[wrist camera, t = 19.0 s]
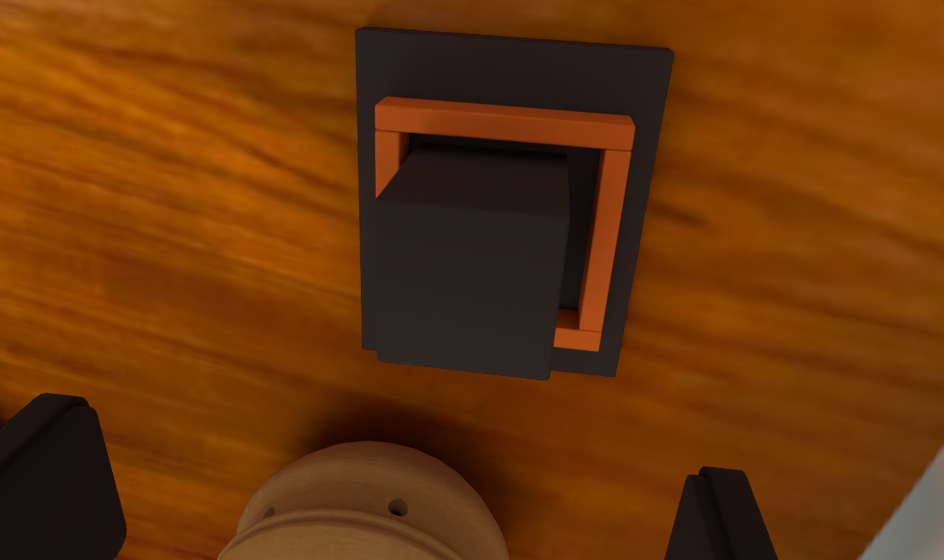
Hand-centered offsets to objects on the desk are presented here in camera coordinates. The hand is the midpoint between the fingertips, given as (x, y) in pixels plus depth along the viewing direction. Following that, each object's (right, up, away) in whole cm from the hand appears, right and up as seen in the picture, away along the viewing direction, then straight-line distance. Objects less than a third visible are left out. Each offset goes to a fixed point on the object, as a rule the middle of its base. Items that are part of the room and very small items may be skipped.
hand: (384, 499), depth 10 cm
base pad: (+2, +6, +13) cm, 15 cm away
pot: (-2, -7, +21) cm, 22 cm away
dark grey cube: (+2, +6, +13) cm, 14 cm away
